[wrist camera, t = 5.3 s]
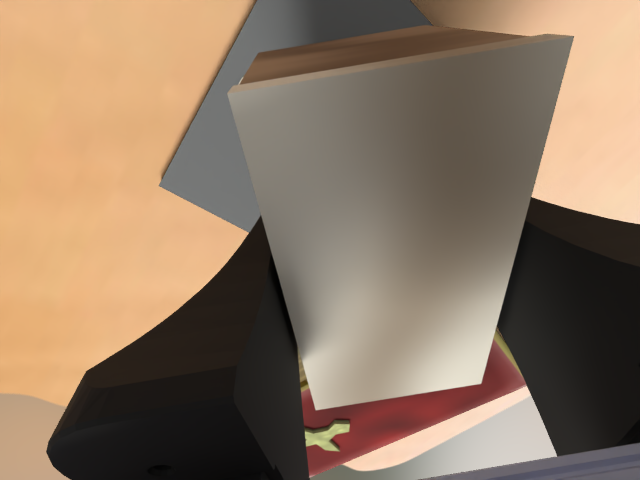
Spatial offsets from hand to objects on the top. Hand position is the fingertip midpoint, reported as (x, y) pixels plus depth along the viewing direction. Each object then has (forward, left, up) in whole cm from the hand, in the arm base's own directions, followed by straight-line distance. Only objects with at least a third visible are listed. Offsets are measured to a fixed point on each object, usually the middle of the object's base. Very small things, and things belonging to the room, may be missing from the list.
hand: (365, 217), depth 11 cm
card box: (0, 0, -2) cm, 2 cm away
